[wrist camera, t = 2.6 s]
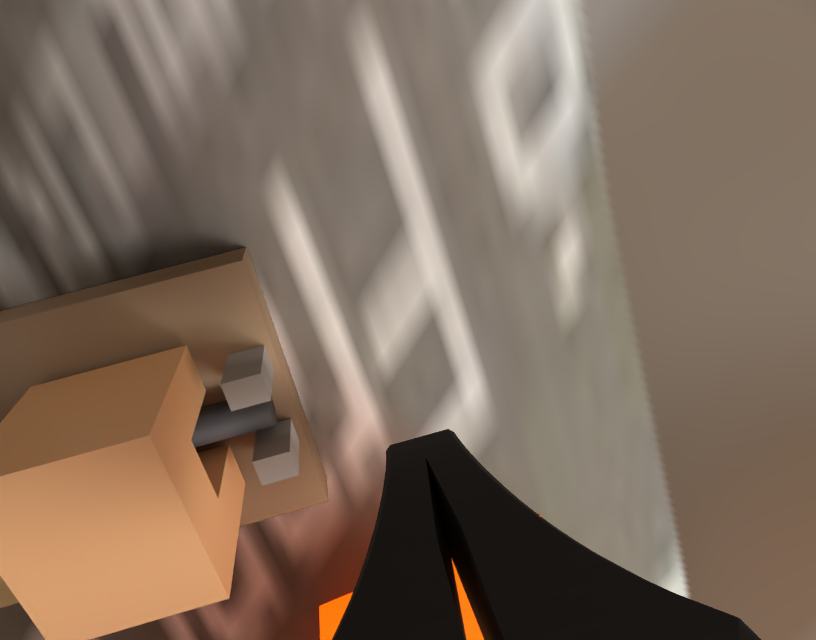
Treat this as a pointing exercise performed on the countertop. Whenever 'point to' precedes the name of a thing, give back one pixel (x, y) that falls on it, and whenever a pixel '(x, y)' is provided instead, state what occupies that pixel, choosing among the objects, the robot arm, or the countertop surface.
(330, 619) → the orange juice
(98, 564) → the tan small block
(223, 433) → the cord board
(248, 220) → the countertop surface
